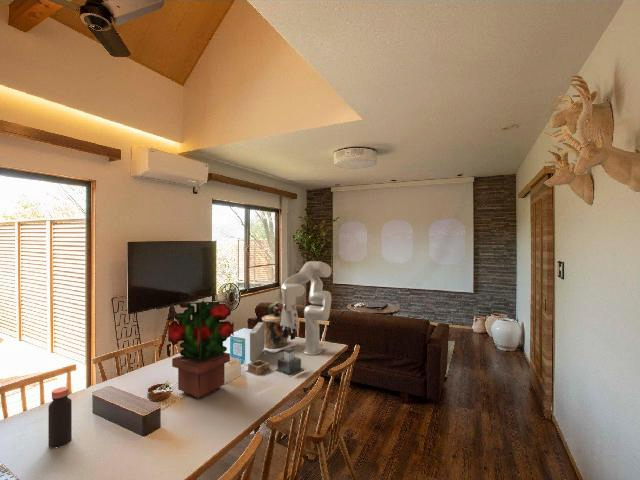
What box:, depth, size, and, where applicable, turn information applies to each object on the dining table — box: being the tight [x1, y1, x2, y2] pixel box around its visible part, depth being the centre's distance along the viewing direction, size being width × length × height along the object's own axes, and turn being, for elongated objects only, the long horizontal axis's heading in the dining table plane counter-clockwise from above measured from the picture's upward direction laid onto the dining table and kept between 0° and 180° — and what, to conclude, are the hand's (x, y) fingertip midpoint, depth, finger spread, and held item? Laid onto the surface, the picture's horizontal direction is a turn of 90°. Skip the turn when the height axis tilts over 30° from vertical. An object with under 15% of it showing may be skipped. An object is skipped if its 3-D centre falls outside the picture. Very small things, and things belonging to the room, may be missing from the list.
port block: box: [274, 356, 305, 378], centre depth 185 cm, size 12×12×7 cm
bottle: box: [47, 386, 73, 449], centre depth 120 cm, size 7×7×20 cm
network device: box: [249, 321, 267, 362], centre depth 207 cm, size 26×9×20 cm, turn 179°
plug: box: [283, 347, 295, 362], centre depth 185 cm, size 4×4×12 cm
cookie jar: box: [261, 300, 299, 354], centre depth 230 cm, size 25×25×32 cm
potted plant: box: [167, 298, 235, 400], centre depth 161 cm, size 22×22×45 cm
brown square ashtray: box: [245, 359, 272, 377], centre depth 184 cm, size 11×11×5 cm
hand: (289, 337), depth 185 cm, fingers open, 5 cm apart
